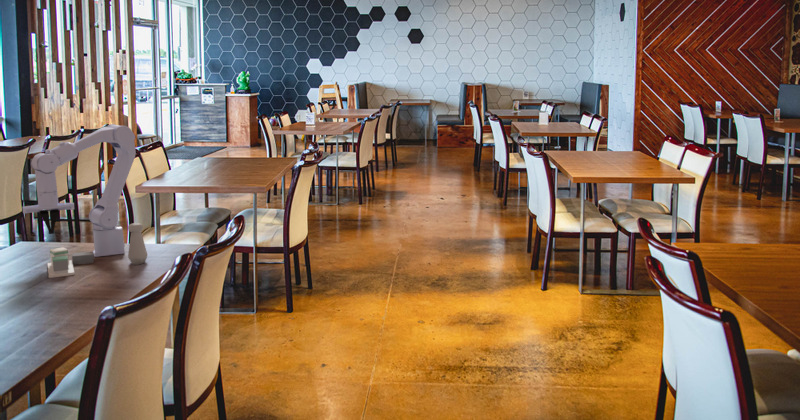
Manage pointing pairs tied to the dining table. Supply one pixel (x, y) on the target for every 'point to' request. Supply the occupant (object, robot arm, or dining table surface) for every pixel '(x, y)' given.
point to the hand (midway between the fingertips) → (51, 233)
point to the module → (58, 253)
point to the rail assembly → (60, 267)
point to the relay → (83, 258)
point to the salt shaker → (136, 244)
